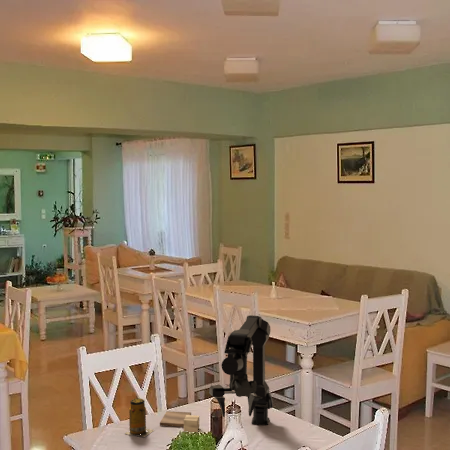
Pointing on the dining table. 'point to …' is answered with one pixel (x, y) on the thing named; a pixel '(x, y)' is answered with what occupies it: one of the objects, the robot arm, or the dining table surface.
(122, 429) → the dining table surface
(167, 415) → the serving board
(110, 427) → the dining table surface
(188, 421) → the maple cube
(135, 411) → the condiment
